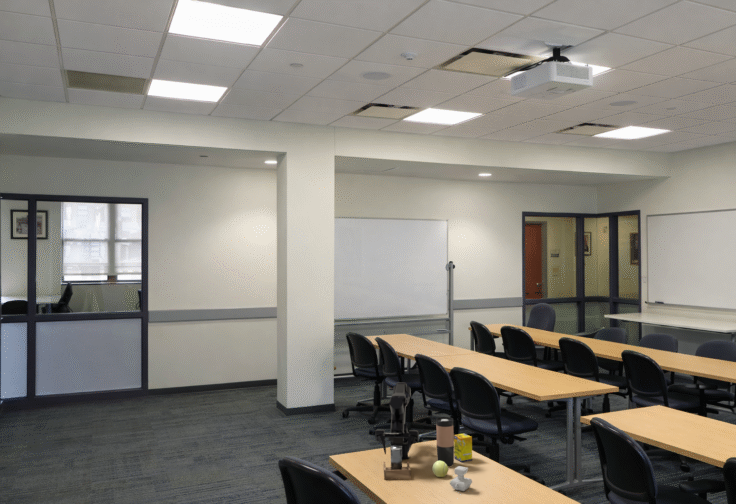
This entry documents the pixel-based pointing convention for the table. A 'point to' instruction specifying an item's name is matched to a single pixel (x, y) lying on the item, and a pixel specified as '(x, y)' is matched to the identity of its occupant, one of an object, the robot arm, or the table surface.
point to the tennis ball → (440, 468)
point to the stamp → (460, 479)
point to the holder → (397, 472)
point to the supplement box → (463, 447)
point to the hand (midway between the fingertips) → (396, 454)
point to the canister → (396, 457)
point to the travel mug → (445, 440)
